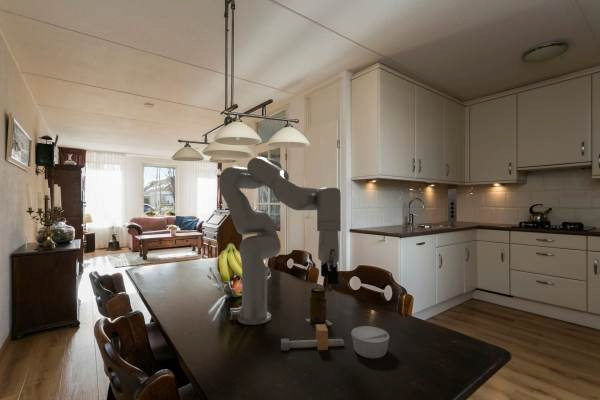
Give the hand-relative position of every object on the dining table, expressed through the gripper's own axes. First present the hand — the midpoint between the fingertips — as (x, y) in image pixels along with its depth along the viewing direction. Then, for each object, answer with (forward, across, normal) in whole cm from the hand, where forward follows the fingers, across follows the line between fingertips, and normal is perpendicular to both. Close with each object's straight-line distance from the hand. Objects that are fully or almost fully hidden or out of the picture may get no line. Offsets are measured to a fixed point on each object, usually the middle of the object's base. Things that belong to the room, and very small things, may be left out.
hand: (329, 280), depth 96 cm
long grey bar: (+20, +2, -5) cm, 20 cm away
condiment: (+20, -17, 0) cm, 26 cm away
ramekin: (+20, +7, +11) cm, 24 cm away
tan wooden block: (+20, +2, -3) cm, 20 cm away
